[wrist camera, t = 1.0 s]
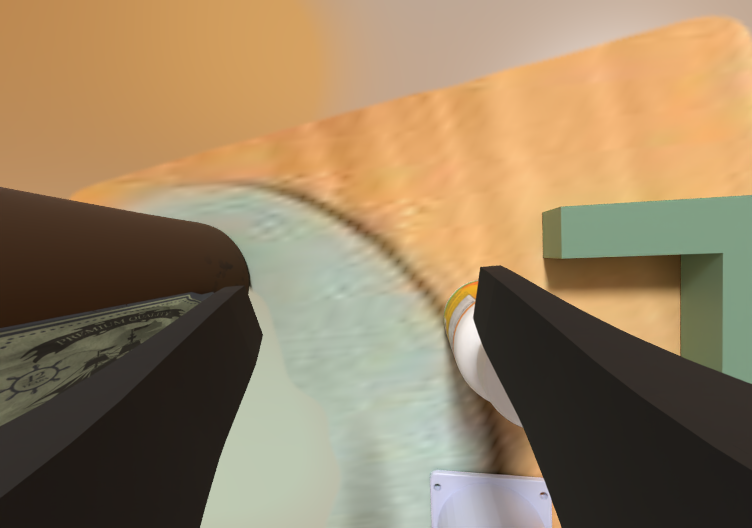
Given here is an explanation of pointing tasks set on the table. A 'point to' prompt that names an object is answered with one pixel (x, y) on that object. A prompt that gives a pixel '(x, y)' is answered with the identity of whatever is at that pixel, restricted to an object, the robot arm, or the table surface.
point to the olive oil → (93, 288)
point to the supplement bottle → (474, 351)
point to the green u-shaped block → (698, 264)
